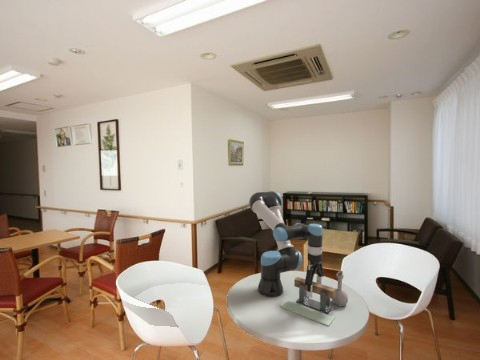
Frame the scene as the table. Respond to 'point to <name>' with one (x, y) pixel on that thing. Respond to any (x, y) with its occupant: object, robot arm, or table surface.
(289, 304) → the mat
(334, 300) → the potion bottle
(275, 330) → the table surface
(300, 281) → the rail
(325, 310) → the rack
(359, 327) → the table surface
